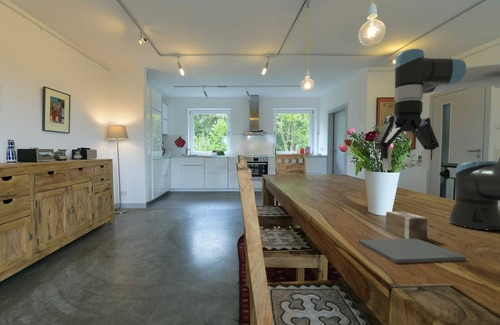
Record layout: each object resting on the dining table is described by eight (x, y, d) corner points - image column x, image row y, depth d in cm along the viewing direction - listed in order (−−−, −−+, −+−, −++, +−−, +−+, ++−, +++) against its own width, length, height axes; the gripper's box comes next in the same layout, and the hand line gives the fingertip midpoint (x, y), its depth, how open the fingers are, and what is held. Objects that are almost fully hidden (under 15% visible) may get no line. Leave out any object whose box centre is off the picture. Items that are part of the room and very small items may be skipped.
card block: (402, 230, 85) (402, 211, 85) (427, 239, 75) (427, 217, 75) (385, 230, 84) (386, 211, 84) (408, 239, 74) (409, 217, 74)
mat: (417, 241, 73) (417, 238, 73) (465, 260, 59) (465, 256, 59) (358, 243, 70) (358, 240, 70) (394, 263, 56) (395, 259, 56)
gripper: (433, 106, 85) (431, 170, 85) (364, 102, 82) (362, 168, 82) (454, 101, 78) (452, 171, 78) (379, 96, 74) (377, 169, 74)
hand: (406, 170), depth 80 cm, fingers open, 13 cm apart
